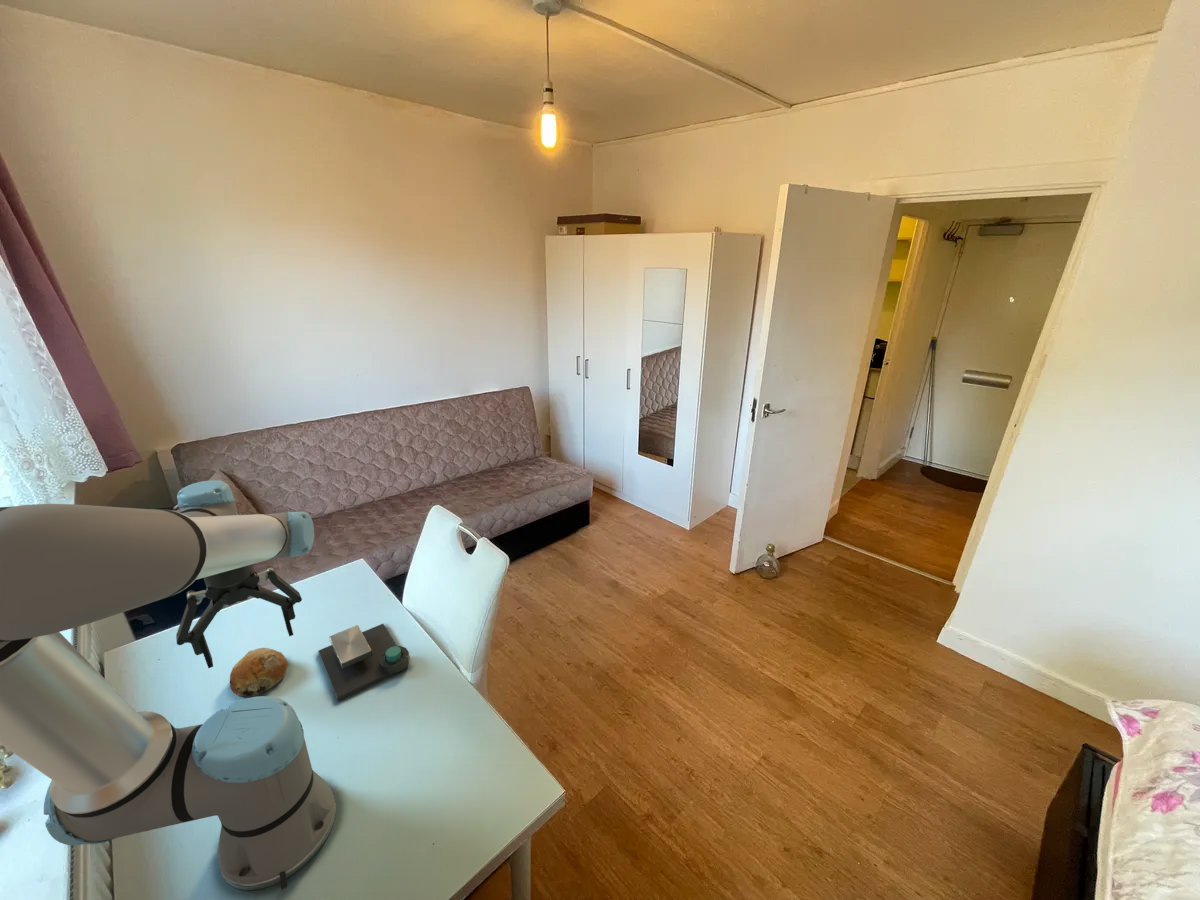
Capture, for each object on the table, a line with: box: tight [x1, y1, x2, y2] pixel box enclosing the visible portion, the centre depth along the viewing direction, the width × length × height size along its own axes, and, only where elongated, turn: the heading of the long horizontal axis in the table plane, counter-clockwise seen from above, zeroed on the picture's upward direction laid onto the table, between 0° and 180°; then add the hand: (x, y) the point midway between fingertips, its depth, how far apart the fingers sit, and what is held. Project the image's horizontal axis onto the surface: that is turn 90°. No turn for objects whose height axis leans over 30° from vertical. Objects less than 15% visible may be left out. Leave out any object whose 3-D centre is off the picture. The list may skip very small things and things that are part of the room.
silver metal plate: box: [328, 624, 372, 669], centre depth 107 cm, size 10×6×2 cm, turn 40°
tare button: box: [386, 645, 401, 663], centre depth 105 cm, size 3×3×2 cm
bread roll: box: [229, 647, 288, 698], centre depth 102 cm, size 10×10×8 cm
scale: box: [318, 623, 411, 702], centre depth 107 cm, size 17×15×3 cm
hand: (251, 647), depth 99 cm, fingers open, 13 cm apart
